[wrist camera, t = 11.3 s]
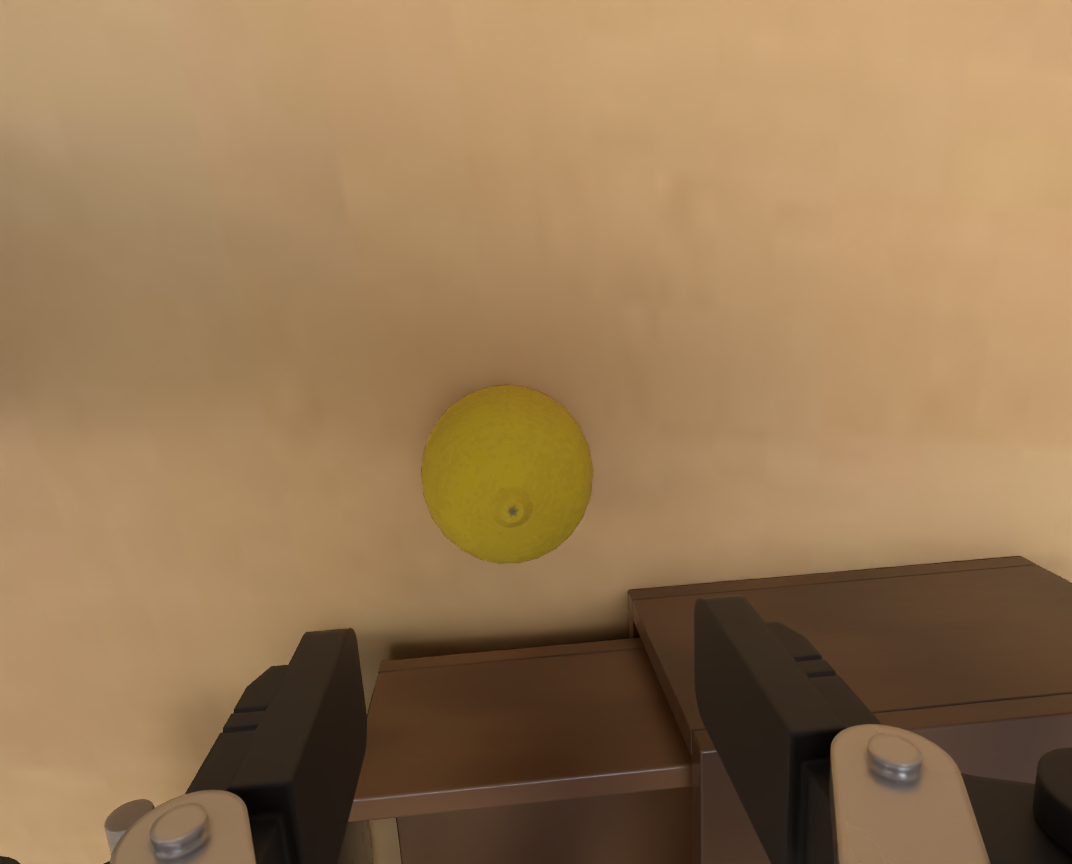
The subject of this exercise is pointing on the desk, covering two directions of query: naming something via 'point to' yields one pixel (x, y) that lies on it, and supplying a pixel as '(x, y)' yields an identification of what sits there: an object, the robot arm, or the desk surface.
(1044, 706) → the cabinet
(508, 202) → the desk surface
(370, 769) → the drawer
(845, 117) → the desk surface
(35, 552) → the desk surface
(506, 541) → the lemon
